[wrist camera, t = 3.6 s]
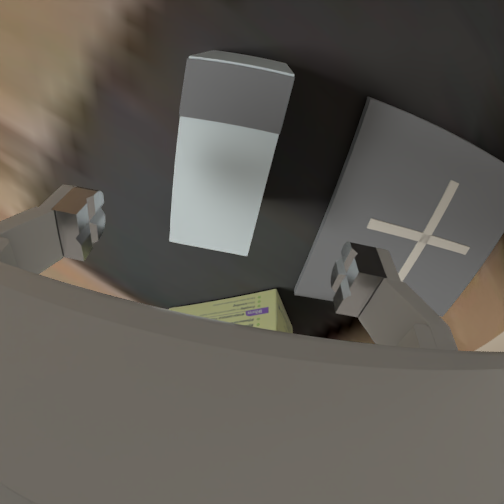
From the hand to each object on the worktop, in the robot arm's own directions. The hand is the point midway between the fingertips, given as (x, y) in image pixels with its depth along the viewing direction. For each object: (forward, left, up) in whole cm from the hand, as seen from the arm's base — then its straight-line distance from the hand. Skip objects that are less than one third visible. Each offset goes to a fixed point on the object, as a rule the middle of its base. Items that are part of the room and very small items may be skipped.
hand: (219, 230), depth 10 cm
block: (-1, 0, -10) cm, 10 cm away
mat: (+14, -4, -10) cm, 18 cm away
